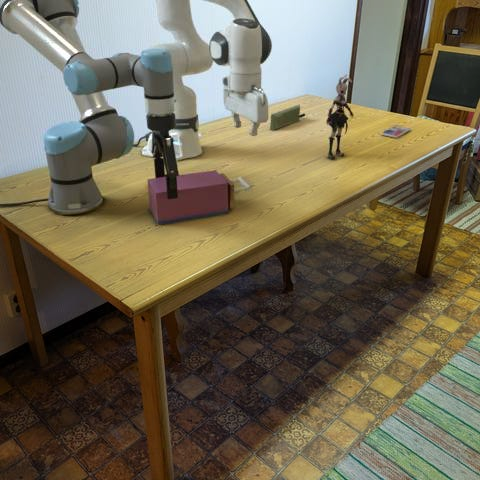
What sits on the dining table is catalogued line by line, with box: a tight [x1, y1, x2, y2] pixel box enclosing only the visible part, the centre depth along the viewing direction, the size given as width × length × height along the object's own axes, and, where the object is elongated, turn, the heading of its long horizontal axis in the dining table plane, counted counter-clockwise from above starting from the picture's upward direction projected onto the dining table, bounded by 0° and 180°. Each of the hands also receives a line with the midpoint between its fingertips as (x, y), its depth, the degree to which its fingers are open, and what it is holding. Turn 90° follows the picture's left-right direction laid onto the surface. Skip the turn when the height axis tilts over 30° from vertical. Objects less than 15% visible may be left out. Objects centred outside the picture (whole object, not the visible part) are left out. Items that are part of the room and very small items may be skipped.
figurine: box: [325, 74, 354, 160], centre depth 182 cm, size 15×6×30 cm, turn 132°
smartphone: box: [380, 124, 411, 139], centre depth 215 cm, size 7×1×15 cm
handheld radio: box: [269, 104, 306, 131], centre depth 223 cm, size 7×3×25 cm
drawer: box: [219, 172, 252, 209], centre depth 147 cm, size 25×9×7 cm, turn 111°
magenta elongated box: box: [146, 169, 229, 225], centre depth 145 cm, size 21×10×10 cm, turn 111°
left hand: (166, 189), depth 141 cm, fingers open, 13 cm apart
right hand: (245, 131), depth 148 cm, fingers open, 8 cm apart
